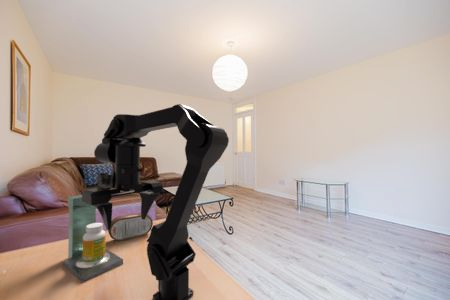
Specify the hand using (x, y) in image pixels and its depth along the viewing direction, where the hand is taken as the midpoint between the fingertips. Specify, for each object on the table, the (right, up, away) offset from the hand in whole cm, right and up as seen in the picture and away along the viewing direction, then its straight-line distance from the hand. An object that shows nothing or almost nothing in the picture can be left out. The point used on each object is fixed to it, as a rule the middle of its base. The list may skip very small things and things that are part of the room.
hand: (127, 224), depth 52 cm
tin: (-9, -13, +22) cm, 27 cm away
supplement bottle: (-11, -12, +4) cm, 17 cm away
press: (-16, -13, +7) cm, 22 cm away
